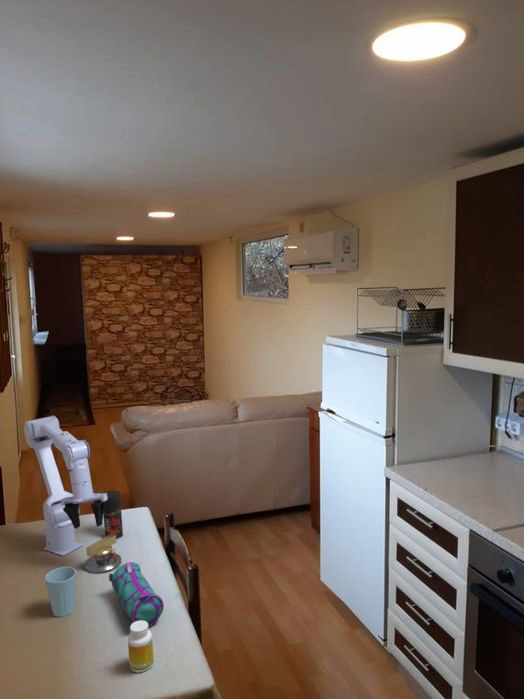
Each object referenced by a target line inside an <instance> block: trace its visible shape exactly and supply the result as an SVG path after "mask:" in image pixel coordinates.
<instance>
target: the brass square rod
mask: <svg viewBox="0 0 524 699" xmlns="http://www.w3.org/2000/svg"><path fill="white" fill-rule="evenodd" d="M115 544H117V539H116V535H114V534H110V535H108V536H106V537H105V536H104V537H103V538H101V539H99V540H98V541H96V542H94V543H92V544H91V545H88V546H87V547H86V556H87V557H89V558H90V557H91V558H95V557H104V556H107V555H109V554H111V553H113V545H115Z"/></svg>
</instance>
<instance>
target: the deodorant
mask: <svg viewBox="0 0 524 699" xmlns="http://www.w3.org/2000/svg"><path fill="white" fill-rule="evenodd" d="M104 493H107V498H108V499H107V503H106V505H105V509H104V513H103V524H104V526H103V527H104V538H105V537H106V536H108V535H110V534H114V535H116V540H118V539H120V538H122V537H123V536H124V532H123V518H122V517H123V516H122V502H121V492H120V491H118V490H110V491H105V492H104Z"/></svg>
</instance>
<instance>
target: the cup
mask: <svg viewBox="0 0 524 699" xmlns="http://www.w3.org/2000/svg"><path fill="white" fill-rule="evenodd" d="M76 579H77V570H76V569H75V568H73V567H70V566H63V567H62V566H61V567H57V568H55V569H52V570H51V571H49V572H48V573H47V574H46V575H45V577H44V580H45V583H46V588H47V589H46V590H47V592H48V597H49V602H50V606H51V611H52V615H53V616H54V617H57V618H62V617H67V616H69V615H71V614H72V613H73V612H74V611H75V608H76V581H77V580H76Z"/></svg>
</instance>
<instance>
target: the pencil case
mask: <svg viewBox="0 0 524 699" xmlns="http://www.w3.org/2000/svg"><path fill="white" fill-rule="evenodd" d="M108 581H109V582H110V583H111V586H112V588H113V591H114V593H115V594H116V596H117V598H118V600H119V602H120V603H121V607H122V608H123V609H124V611H125V613H126V615H127V616H128V618H129V619H130V622H131V624H132V623H134V622H136V621H140V620H142V621H146V622H147V623H148V629H149V628H151V627H152V626H154V624H155V623H156V622H157V621H158V620H159V618H160V617H161V615H162V614H163V612H164V600H163V599H162V597H161V596H160V595H158V594H157V593H156V592H155V591H154V590H153V588H152V587H151V585H150V584H149V582H148V580H147V579H146V578H145V576H144V575H143V574H142V572H141V566H140V565H139V564H138V563H136V562H134V561H129V562H125V563H124V564H122V565H120V566H119V567H117V568H116V569H115V571H114V573H109V575H108Z"/></svg>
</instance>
